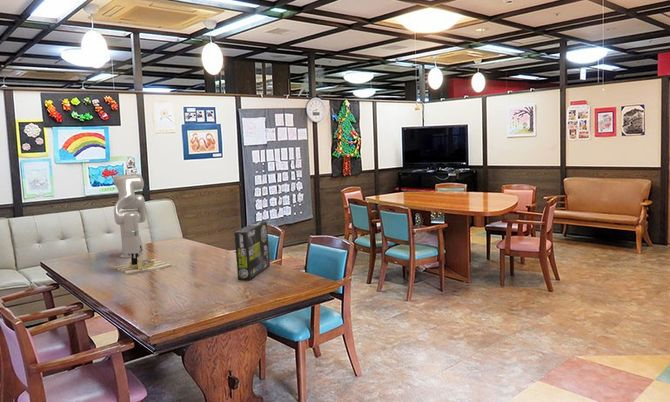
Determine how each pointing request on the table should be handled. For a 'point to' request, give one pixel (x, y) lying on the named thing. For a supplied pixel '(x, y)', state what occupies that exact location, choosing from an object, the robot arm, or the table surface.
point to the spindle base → (156, 266)
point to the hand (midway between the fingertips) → (134, 264)
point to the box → (252, 250)
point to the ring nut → (141, 265)
